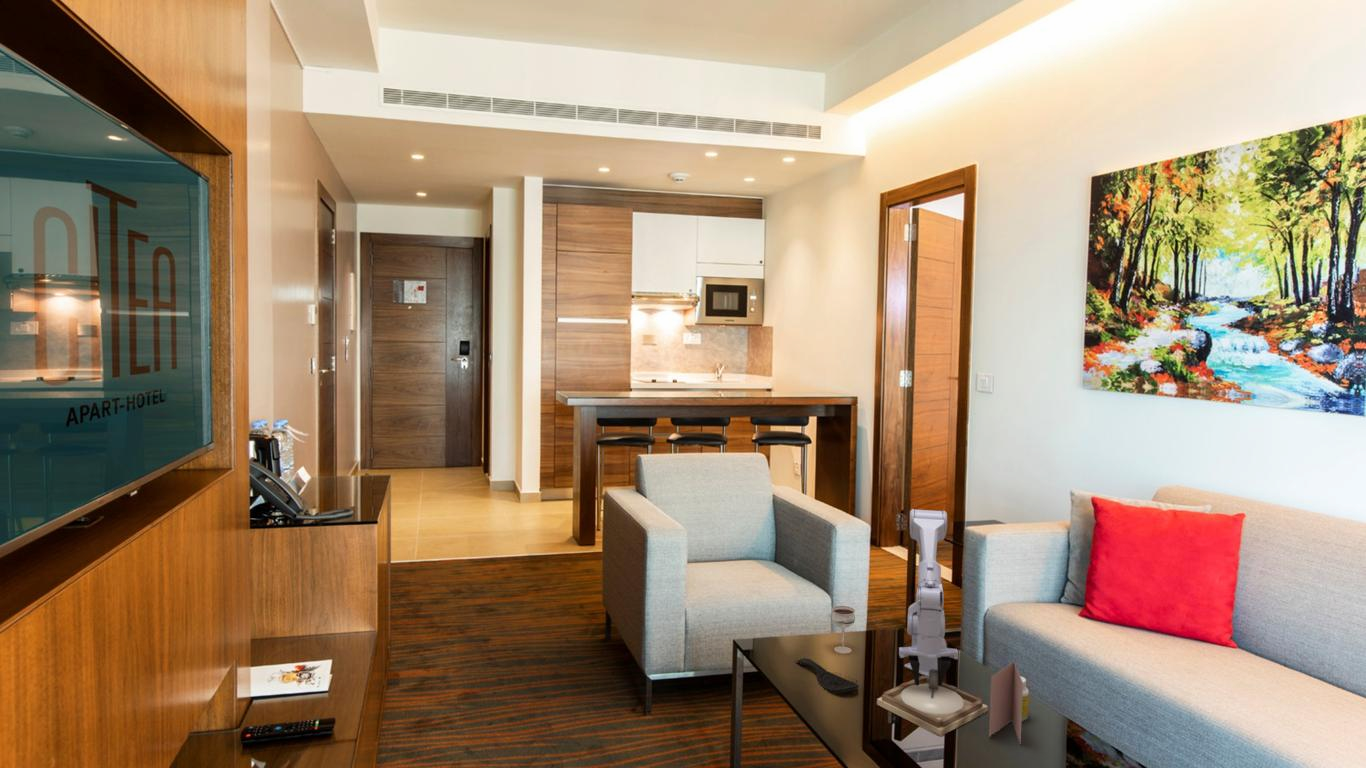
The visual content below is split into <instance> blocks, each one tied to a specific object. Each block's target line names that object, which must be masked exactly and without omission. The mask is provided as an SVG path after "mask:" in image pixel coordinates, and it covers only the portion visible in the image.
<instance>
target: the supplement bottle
mask: <svg viewBox="0 0 1366 768" xmlns="http://www.w3.org/2000/svg"><path fill="white" fill-rule="evenodd" d="M1020 677H1021V679H1022V682H1023V698H1022V720H1023V719H1026V718H1027V717H1028V715H1029V699H1030V698H1029V697H1030V694H1029V693H1030V691H1029V688H1028V687H1027V679H1026V678H1025V677H1024V676H1021V675H1020ZM1027 719H1028V718H1027Z"/></svg>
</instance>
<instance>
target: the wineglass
mask: <svg viewBox="0 0 1366 768" xmlns="http://www.w3.org/2000/svg"><path fill="white" fill-rule="evenodd" d="M831 611H832V613H831V619H832V623H834V625H835V626H837V627H838V628H840V629H841V646H840V645H839V646H836V647H834V649H833V650H834V651H835V652H836V653H839V654H849V653H851V652H852V648H850V647H848V646H845V630H846V629H847V628H850V627H851V626H852V625H854V623H855V621H856V615H855V613H856V609H854V607H851V606H847V605H846V606H845V605H838V606H836V605H835V606H834V607H832V608H831Z"/></svg>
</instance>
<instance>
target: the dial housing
mask: <svg viewBox="0 0 1366 768" xmlns="http://www.w3.org/2000/svg"><path fill="white" fill-rule="evenodd" d="M919 684H929V676H927V675H926V676H925V675H921V676H920V675H919ZM912 685H916V684H915V682H914V679H911V680H909V681H907V682H903V683H901V684H899V685H898V686H896V687H892V688H891V689H889V690H886V691H884V692H882V693H883V694H882V695H881V696H880V697H879V698H876V705H877V706H878V707H881V708H883V709H885V710H887V711H888V712H890V713H893V714H895V715H897V716H899V717H901V718H902V719H904V720H907V721H909V722H911V723H912V724H914V725H917V726H919V727H921V728H923V729H925V730H927V731H929V732H931V733H933V734H935V735H937V736H938V737H942V736H944V735H946V734H948V733H949V732H951V731H953V730H955V729H957V728H959V727H961V726H962V725H965V724H967V723H968V722H970V721H973V720H975V719H977V718H979V717H980V716H982V715H984V714H986V713H987V712H986V711H988V710H989V707H988V705H987V704H984V703H983V702H984V700H983V699H981V698H979V697H977V696H974V695H973V694H970V693H968V692H965V691H963V690H961V689H958V687H956V686H954V685H952V684H951V685H950V684H947V683H946V682H944V681H942V686H941V687H945V688H947V689H950V690H952V691H954V692H956V693H957V694H958V695H960V696H961V697H962V699H963V702H964V707H963V708H962V709H960V710H958V711H956V712H954V713H952V714H950V715H948V716H946V717H932V716H930V715H928V714H926V713H924V712H922V711H920V710H918V709H916V708H913V707H911V706H909V705H907V704H905V703H903V702H902V701H901V693H902V691H903V690H904V689H905V688H907V687H909V686H912ZM938 686H939V685H938ZM985 712H986V713H985ZM988 712H989V711H988ZM983 713H984V714H983ZM981 714H982V715H981ZM978 716H979V717H978Z"/></svg>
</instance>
